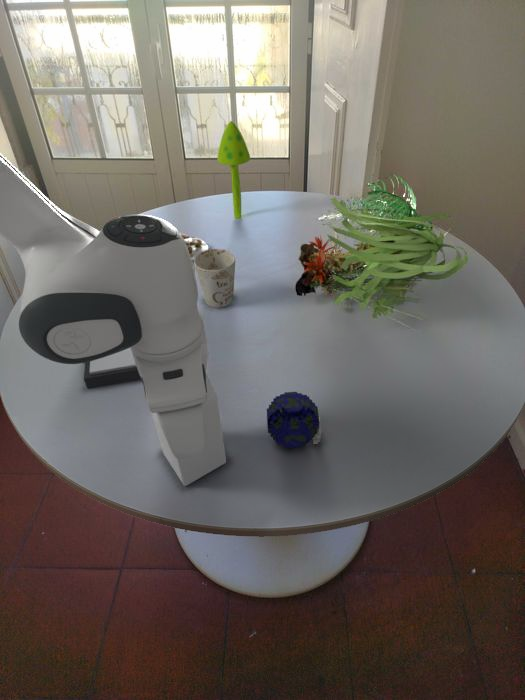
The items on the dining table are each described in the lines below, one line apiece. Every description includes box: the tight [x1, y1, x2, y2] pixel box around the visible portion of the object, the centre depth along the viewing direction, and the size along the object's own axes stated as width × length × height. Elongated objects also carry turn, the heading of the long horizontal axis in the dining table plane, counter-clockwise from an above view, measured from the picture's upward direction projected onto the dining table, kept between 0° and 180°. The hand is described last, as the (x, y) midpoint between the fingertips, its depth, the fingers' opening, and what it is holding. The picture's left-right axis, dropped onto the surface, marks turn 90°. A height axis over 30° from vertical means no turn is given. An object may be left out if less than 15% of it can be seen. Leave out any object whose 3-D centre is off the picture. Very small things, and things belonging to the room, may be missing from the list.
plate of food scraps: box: [179, 232, 210, 261], centre depth 116 cm, size 12×12×4 cm
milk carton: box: [151, 373, 227, 487], centre depth 65 cm, size 7×7×19 cm
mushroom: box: [216, 120, 251, 220], centre depth 121 cm, size 8×8×25 cm
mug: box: [193, 248, 236, 309], centre depth 99 cm, size 8×13×10 cm, turn 16°
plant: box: [294, 173, 469, 332], centre depth 91 cm, size 30×30×35 cm
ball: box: [266, 391, 322, 449], centre depth 71 cm, size 8×8×8 cm
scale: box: [83, 348, 142, 389], centre depth 86 cm, size 13×11×3 cm
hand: (188, 420), depth 65 cm, fingers open, 8 cm apart
